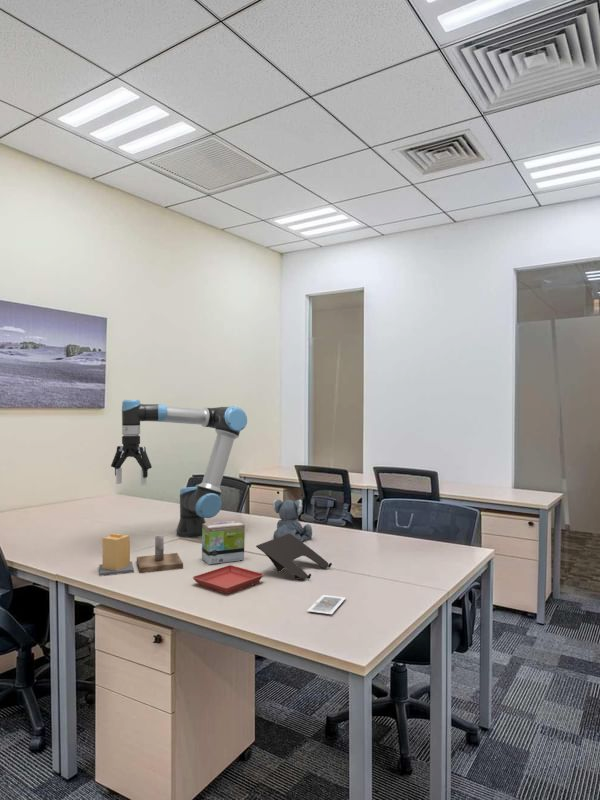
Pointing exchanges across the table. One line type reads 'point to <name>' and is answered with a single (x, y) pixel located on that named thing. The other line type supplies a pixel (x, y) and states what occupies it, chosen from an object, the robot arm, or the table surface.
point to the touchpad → (326, 604)
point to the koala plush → (291, 520)
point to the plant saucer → (228, 578)
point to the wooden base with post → (159, 559)
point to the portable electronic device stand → (290, 554)
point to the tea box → (223, 542)
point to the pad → (123, 570)
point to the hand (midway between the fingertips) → (131, 484)
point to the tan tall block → (116, 551)
